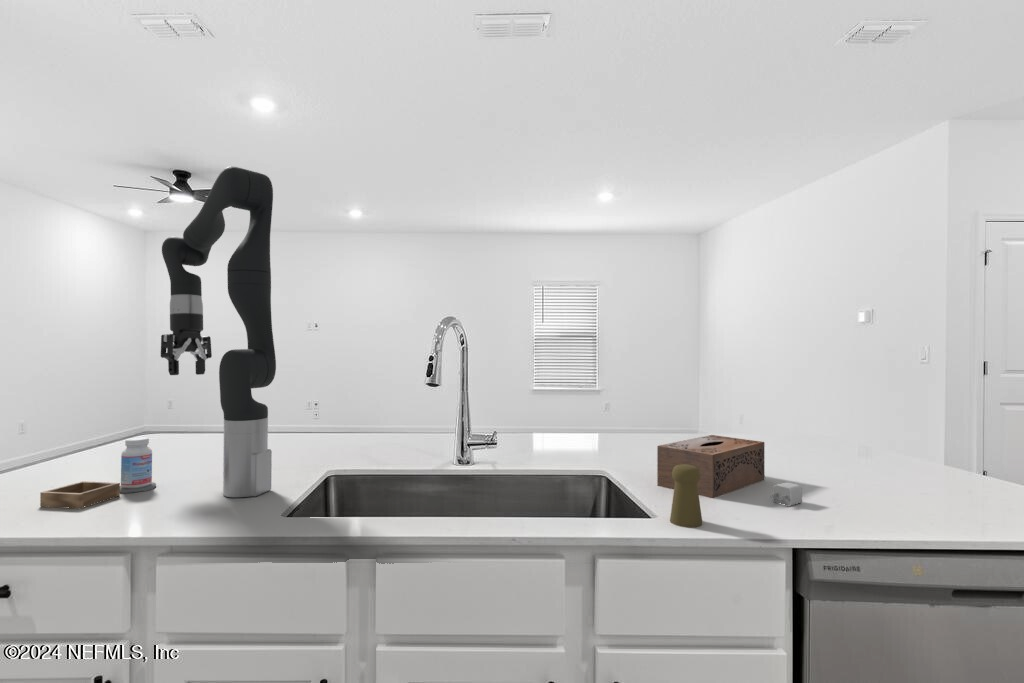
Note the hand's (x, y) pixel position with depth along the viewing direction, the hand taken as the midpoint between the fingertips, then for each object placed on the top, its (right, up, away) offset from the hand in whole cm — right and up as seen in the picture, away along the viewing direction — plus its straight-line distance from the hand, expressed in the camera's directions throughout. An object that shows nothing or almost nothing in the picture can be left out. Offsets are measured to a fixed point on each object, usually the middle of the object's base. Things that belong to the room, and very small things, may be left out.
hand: (187, 374), depth 142 cm
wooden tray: (-9, -26, -24) cm, 36 cm away
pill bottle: (-4, -26, -13) cm, 29 cm away
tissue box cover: (+135, -27, -7) cm, 138 cm away
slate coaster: (-4, -26, -13) cm, 30 cm away
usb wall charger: (+144, -27, -25) cm, 149 cm away
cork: (+119, -27, -37) cm, 127 cm away
